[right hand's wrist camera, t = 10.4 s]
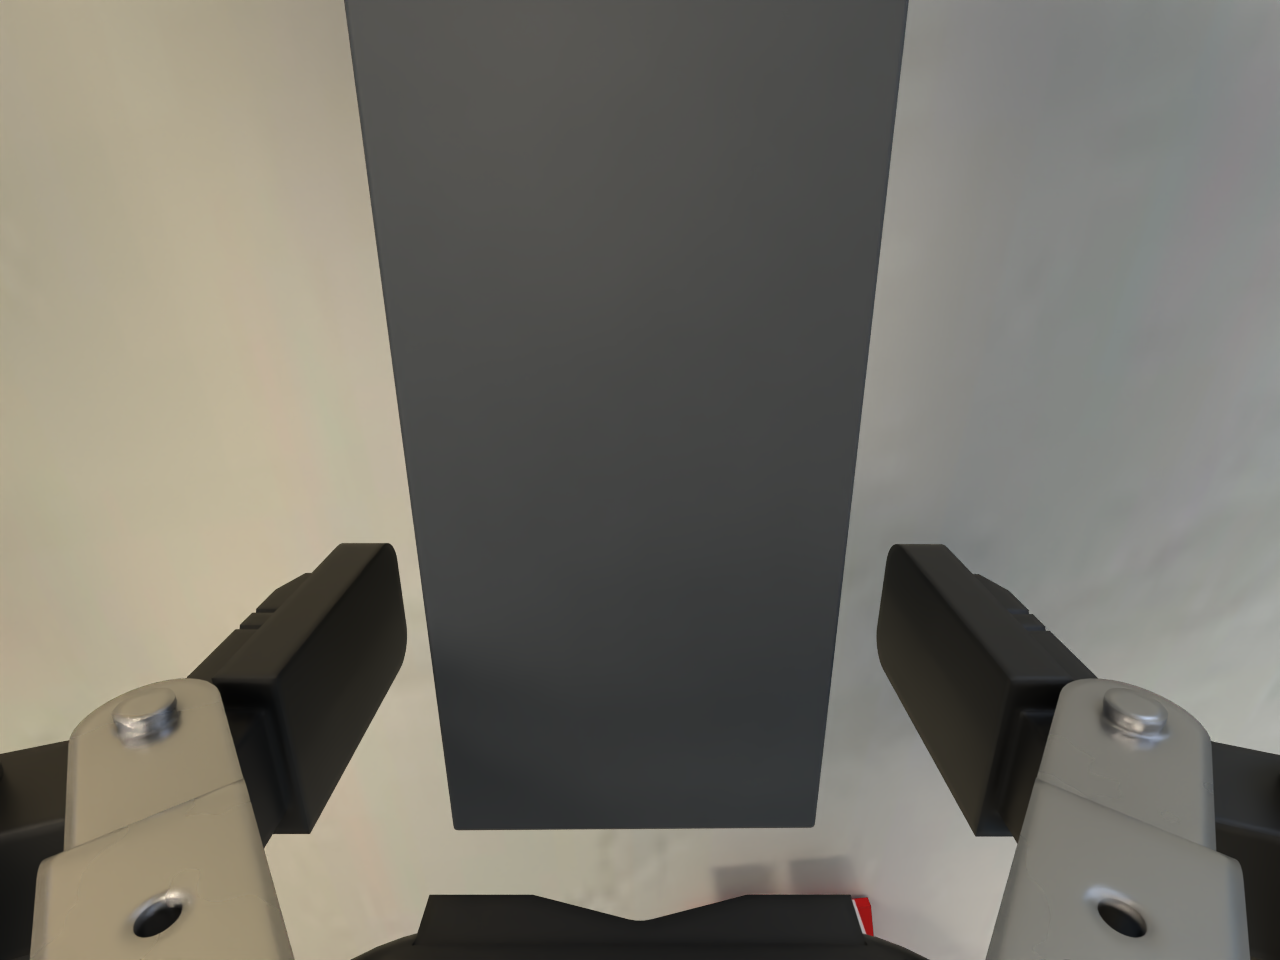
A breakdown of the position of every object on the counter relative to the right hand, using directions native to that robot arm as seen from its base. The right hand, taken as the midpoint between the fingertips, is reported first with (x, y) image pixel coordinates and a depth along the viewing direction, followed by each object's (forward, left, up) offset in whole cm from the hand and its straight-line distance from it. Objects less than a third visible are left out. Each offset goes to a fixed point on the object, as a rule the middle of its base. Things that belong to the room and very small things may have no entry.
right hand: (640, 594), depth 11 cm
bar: (-6, +10, -6) cm, 13 cm away
